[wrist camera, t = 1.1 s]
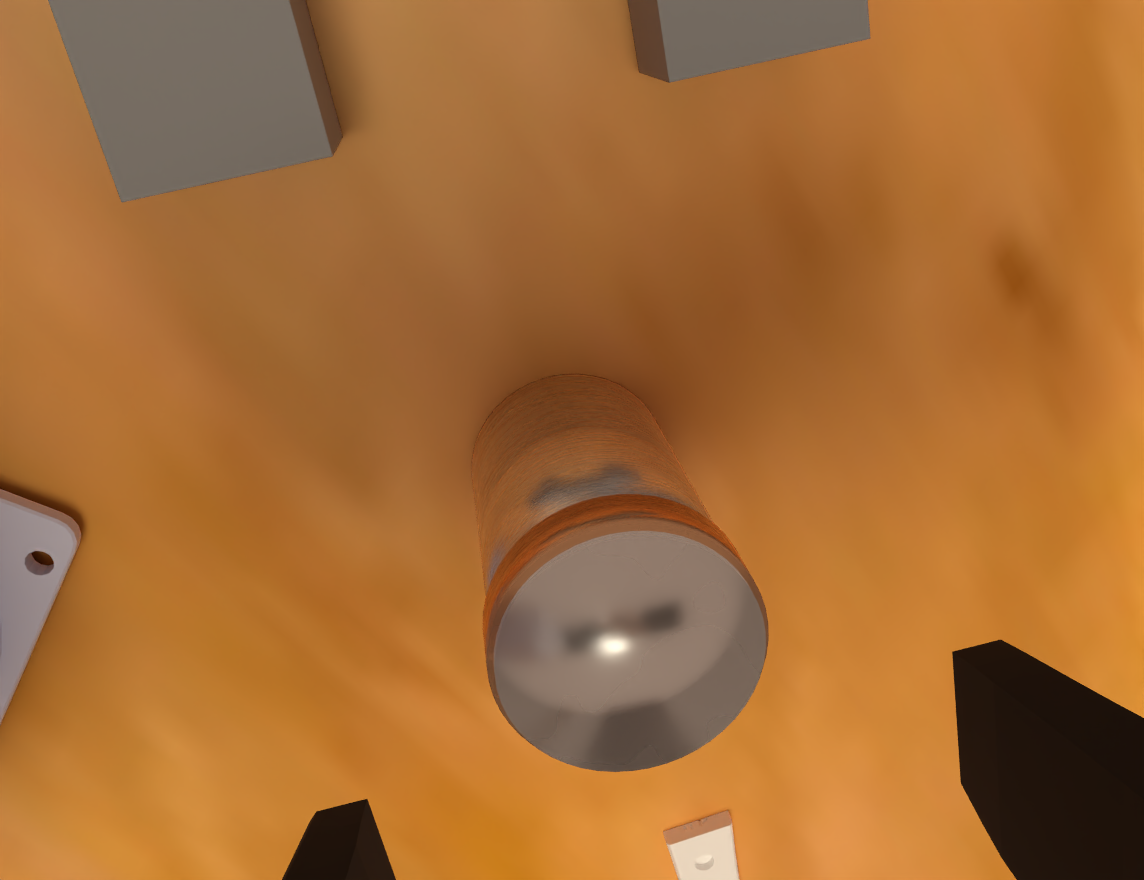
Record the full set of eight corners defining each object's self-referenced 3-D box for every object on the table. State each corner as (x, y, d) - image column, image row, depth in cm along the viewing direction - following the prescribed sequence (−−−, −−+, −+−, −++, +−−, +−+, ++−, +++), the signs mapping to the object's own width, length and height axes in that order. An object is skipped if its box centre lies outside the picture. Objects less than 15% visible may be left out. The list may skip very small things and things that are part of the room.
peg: (607, 585, 23) (680, 811, 17) (431, 510, 22) (437, 723, 16) (706, 422, 22) (826, 597, 16) (527, 334, 21) (576, 484, 14)
